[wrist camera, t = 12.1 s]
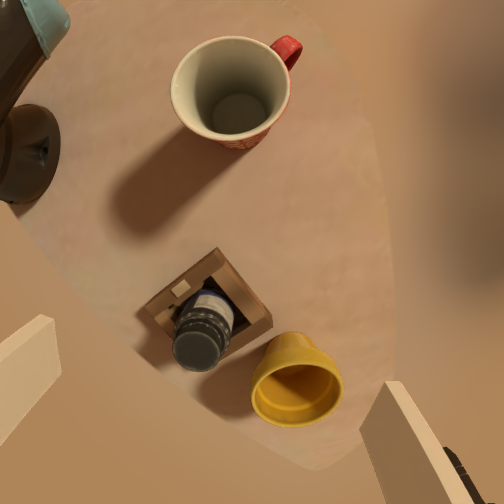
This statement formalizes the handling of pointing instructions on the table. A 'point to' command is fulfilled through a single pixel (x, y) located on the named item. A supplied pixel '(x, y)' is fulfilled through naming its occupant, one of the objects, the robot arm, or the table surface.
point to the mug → (234, 88)
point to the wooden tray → (232, 285)
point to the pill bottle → (203, 329)
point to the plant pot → (295, 383)
